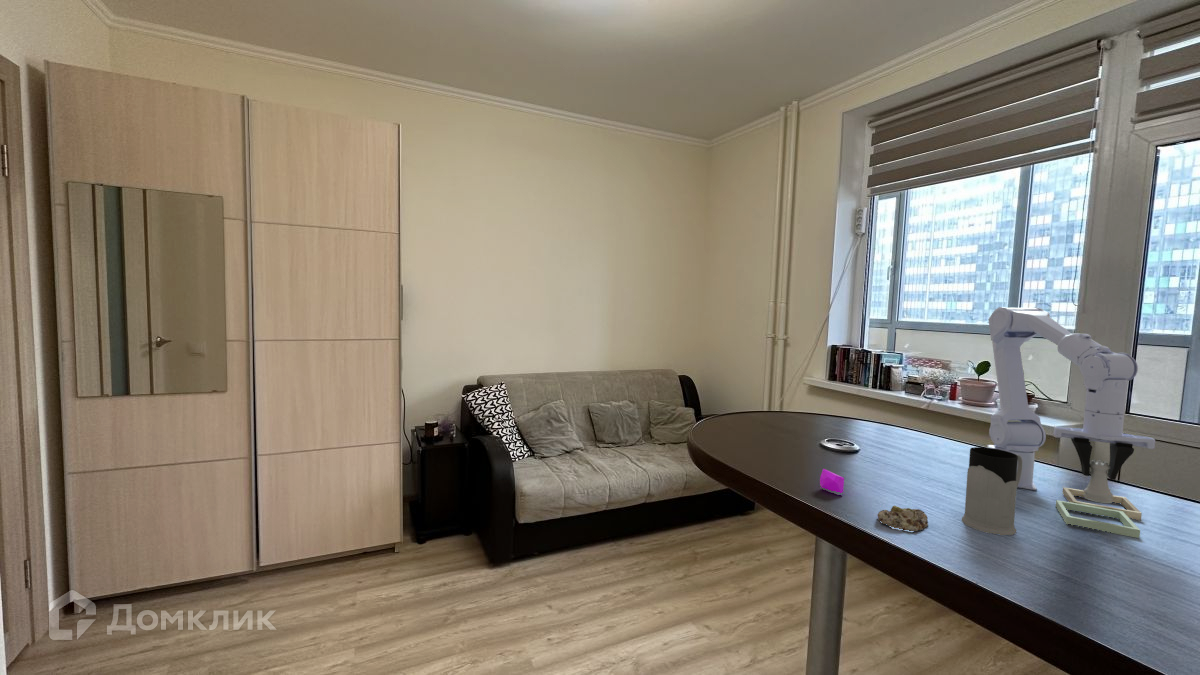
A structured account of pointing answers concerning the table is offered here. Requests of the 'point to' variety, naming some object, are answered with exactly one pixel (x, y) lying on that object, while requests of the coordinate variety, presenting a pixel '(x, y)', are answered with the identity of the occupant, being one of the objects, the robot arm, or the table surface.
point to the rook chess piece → (1098, 483)
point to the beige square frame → (1130, 512)
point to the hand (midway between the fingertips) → (1098, 476)
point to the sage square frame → (1126, 530)
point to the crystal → (831, 481)
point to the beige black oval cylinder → (992, 490)
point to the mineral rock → (904, 518)
